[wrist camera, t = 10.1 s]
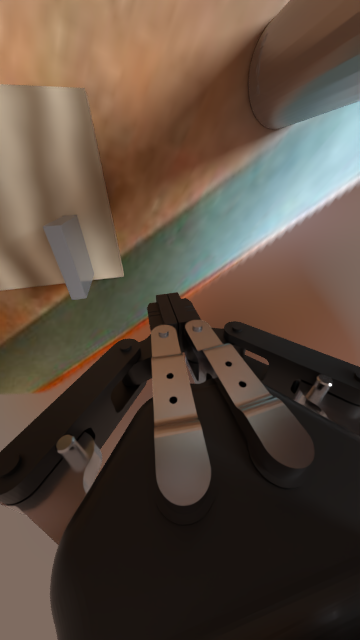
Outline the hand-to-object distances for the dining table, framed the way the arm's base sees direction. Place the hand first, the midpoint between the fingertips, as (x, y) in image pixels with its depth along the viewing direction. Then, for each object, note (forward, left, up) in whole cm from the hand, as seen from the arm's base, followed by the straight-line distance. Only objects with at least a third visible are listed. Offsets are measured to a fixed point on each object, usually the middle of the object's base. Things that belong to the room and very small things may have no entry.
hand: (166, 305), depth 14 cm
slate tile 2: (+9, 0, -19) cm, 21 cm away
